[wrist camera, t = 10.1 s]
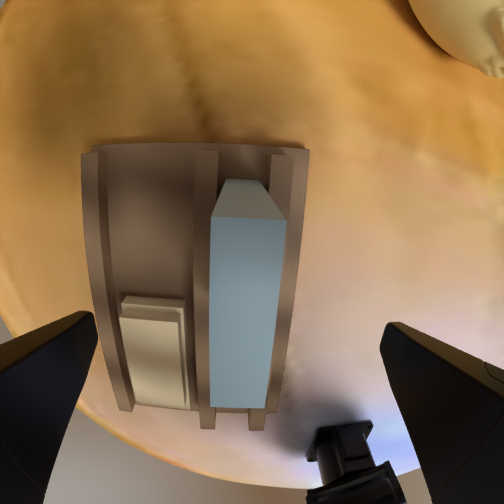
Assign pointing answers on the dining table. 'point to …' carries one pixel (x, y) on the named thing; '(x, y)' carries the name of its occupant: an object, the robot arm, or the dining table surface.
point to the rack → (180, 245)
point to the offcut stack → (157, 350)
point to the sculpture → (466, 30)
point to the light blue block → (243, 292)
